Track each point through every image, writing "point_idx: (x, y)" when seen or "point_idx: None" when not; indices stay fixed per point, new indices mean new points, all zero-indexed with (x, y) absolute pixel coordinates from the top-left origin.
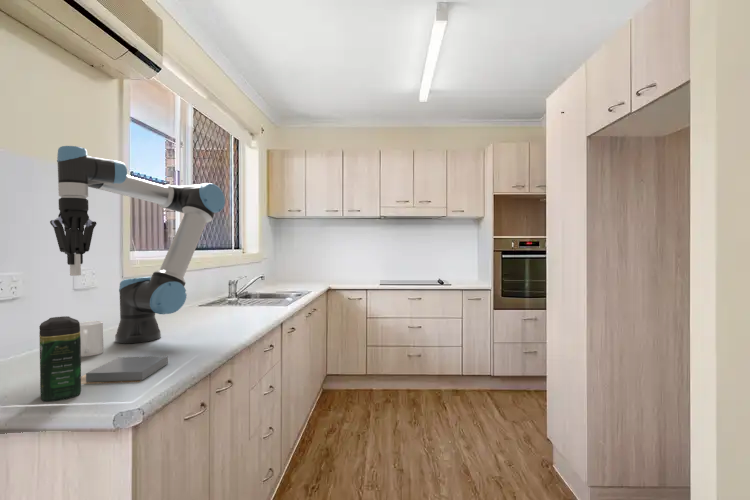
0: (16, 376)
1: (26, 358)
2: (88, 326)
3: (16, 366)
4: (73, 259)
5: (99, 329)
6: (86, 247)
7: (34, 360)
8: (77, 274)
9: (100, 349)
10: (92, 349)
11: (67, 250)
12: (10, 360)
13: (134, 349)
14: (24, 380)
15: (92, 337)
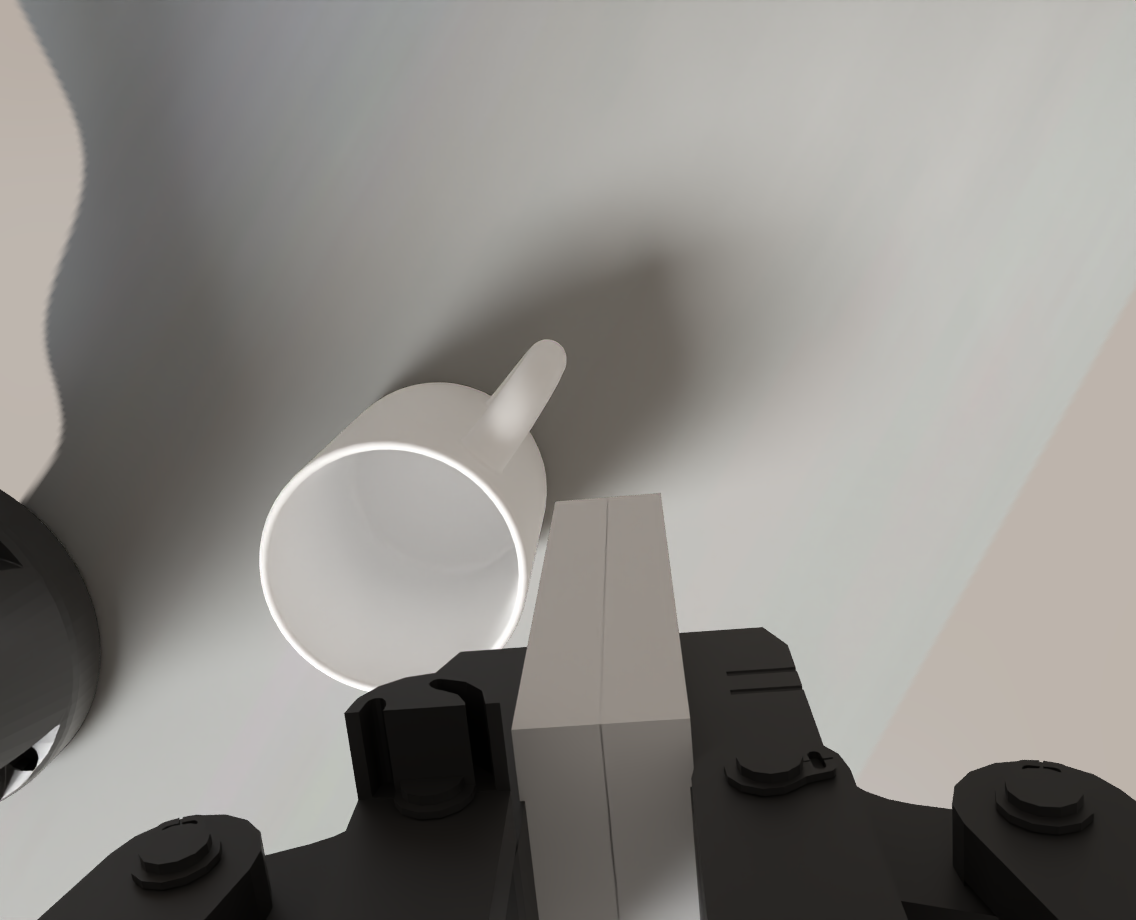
0: (1059, 309)
1: None
2: (455, 452)
3: (887, 613)
4: (708, 695)
5: (358, 430)
6: (179, 916)
7: None
8: (628, 505)
9: (394, 392)
10: (461, 391)
11: (1044, 771)
12: None
13: (156, 292)
14: (1109, 130)
15: (441, 416)
